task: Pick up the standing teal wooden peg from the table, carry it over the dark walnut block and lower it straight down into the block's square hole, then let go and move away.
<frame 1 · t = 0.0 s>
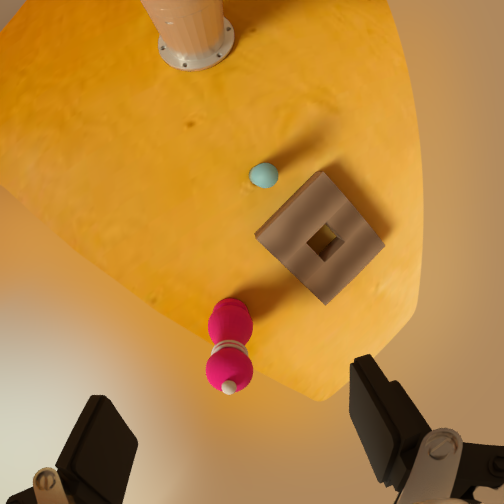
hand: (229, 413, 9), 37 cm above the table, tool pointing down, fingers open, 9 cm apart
walnut hole block: (318, 236, 46), on the table
teal peg: (258, 175, 43), on the table
pepper mill: (230, 313, 49), on the table
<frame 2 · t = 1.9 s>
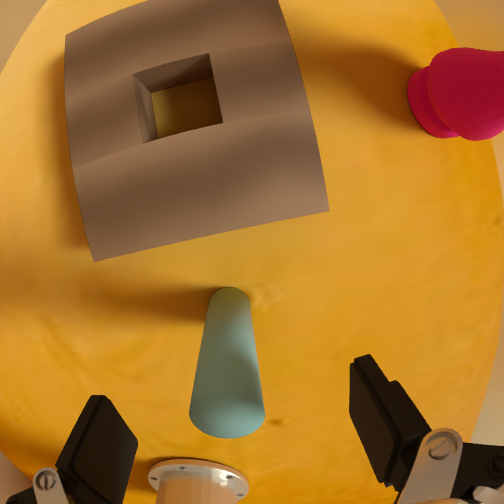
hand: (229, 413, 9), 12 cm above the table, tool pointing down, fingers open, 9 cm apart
walnut hole block: (186, 112, 17), on the table
teal peg: (229, 306, 21), on the table
pepper mill: (433, 104, 18), on the table
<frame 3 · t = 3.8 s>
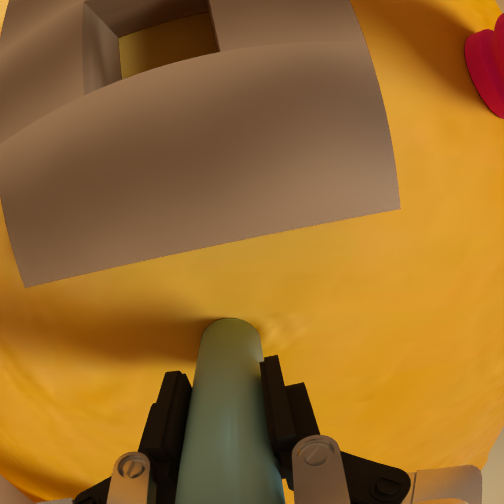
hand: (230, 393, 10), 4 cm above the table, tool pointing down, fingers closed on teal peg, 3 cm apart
walnut hole block: (167, 58, 10), on the table
teal peg: (230, 343, 14), on the table, touching gripper
pepper mill: (491, 76, 10), on the table
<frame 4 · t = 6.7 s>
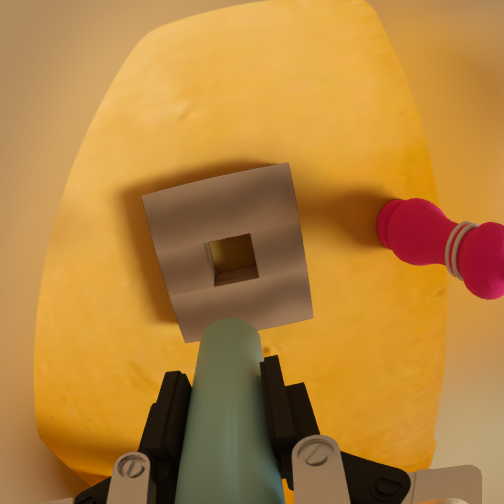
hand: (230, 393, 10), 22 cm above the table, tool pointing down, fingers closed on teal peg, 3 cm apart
walnut hole block: (232, 250, 31), on the table
teal peg: (230, 343, 14), point 18 cm above the table, touching gripper
pepper mill: (396, 224, 31), on the table
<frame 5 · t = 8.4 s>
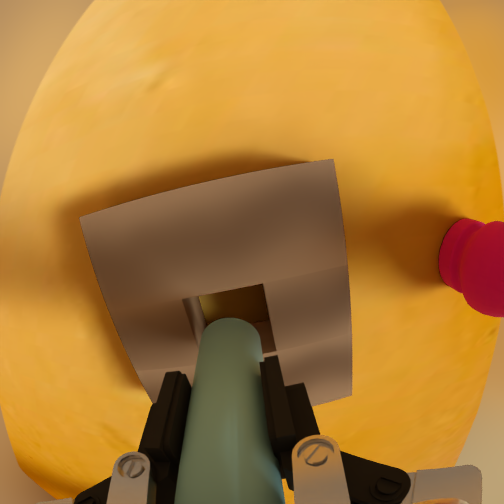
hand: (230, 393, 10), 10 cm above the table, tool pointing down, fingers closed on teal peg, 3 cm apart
walnut hole block: (231, 298, 20), on the table
teal peg: (230, 343, 14), point 6 cm above the table, touching gripper
pepper mill: (460, 252, 20), on the table
when the fingers open (5 cm above the table, at t = 9.9 s): teal peg drops 1 cm, resting in walnut hole block.
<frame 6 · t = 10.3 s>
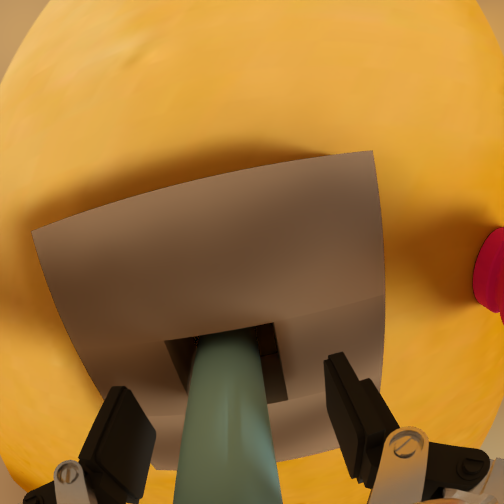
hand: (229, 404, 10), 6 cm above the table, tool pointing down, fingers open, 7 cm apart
walnut hole block: (231, 329, 15), on the table
teal peg: (228, 329, 15), resting in walnut hole block
pepper mill: (494, 265, 16), on the table
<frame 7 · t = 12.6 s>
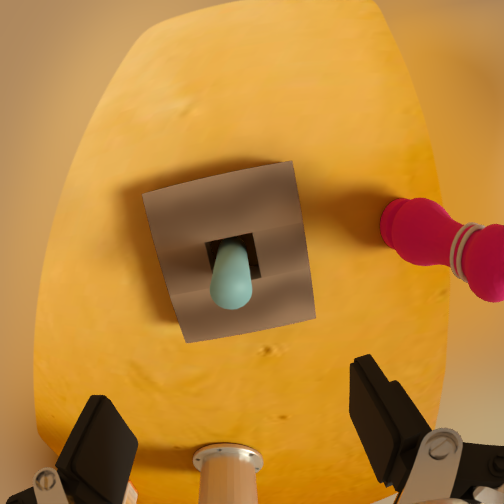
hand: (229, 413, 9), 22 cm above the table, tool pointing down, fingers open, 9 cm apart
supplement box: (125, 484, 45), on the table
walnut hole block: (233, 249, 31), on the table
teal peg: (232, 249, 31), resting in walnut hole block
pepper mill: (399, 223, 31), on the table
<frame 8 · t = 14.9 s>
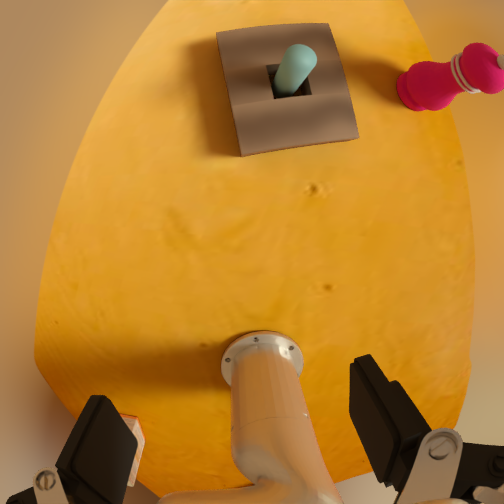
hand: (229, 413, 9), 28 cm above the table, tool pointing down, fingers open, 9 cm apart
supplement box: (131, 426, 46), on the table
walnut hole block: (283, 89, 32), on the table
teal peg: (282, 89, 32), resting in walnut hole block
pepper mill: (412, 92, 32), on the table
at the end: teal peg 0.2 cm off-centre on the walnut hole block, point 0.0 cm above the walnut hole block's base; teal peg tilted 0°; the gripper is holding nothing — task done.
